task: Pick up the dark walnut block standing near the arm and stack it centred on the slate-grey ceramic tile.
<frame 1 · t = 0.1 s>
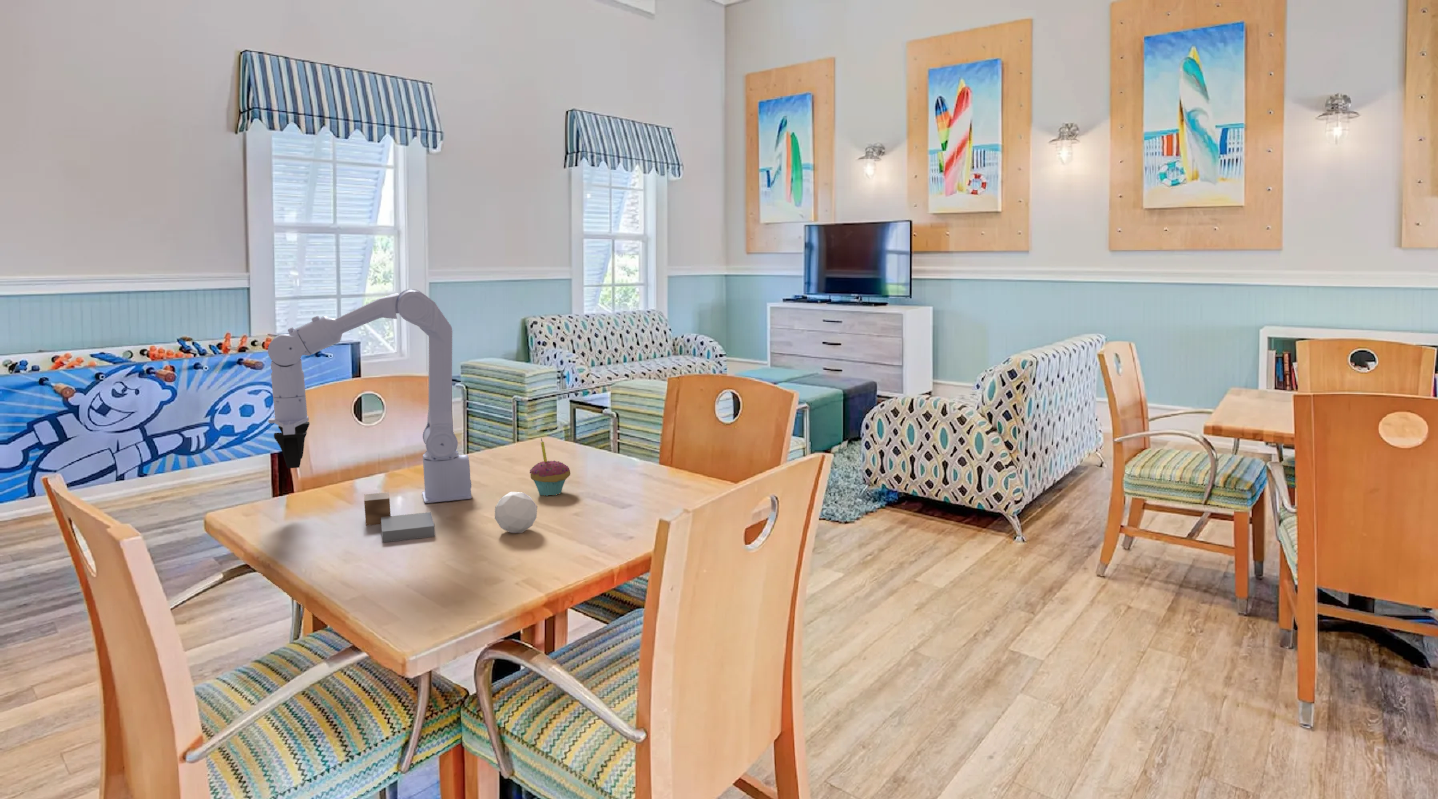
hand: (295, 463, 170), 10 cm above the table, tool pointing down, fingers open, 7 cm apart
walnut block: (378, 521, 167), on the table
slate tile: (407, 531, 161), on the table
geometric ball: (516, 532, 161), on the table
cupcake: (550, 493, 186), on the table
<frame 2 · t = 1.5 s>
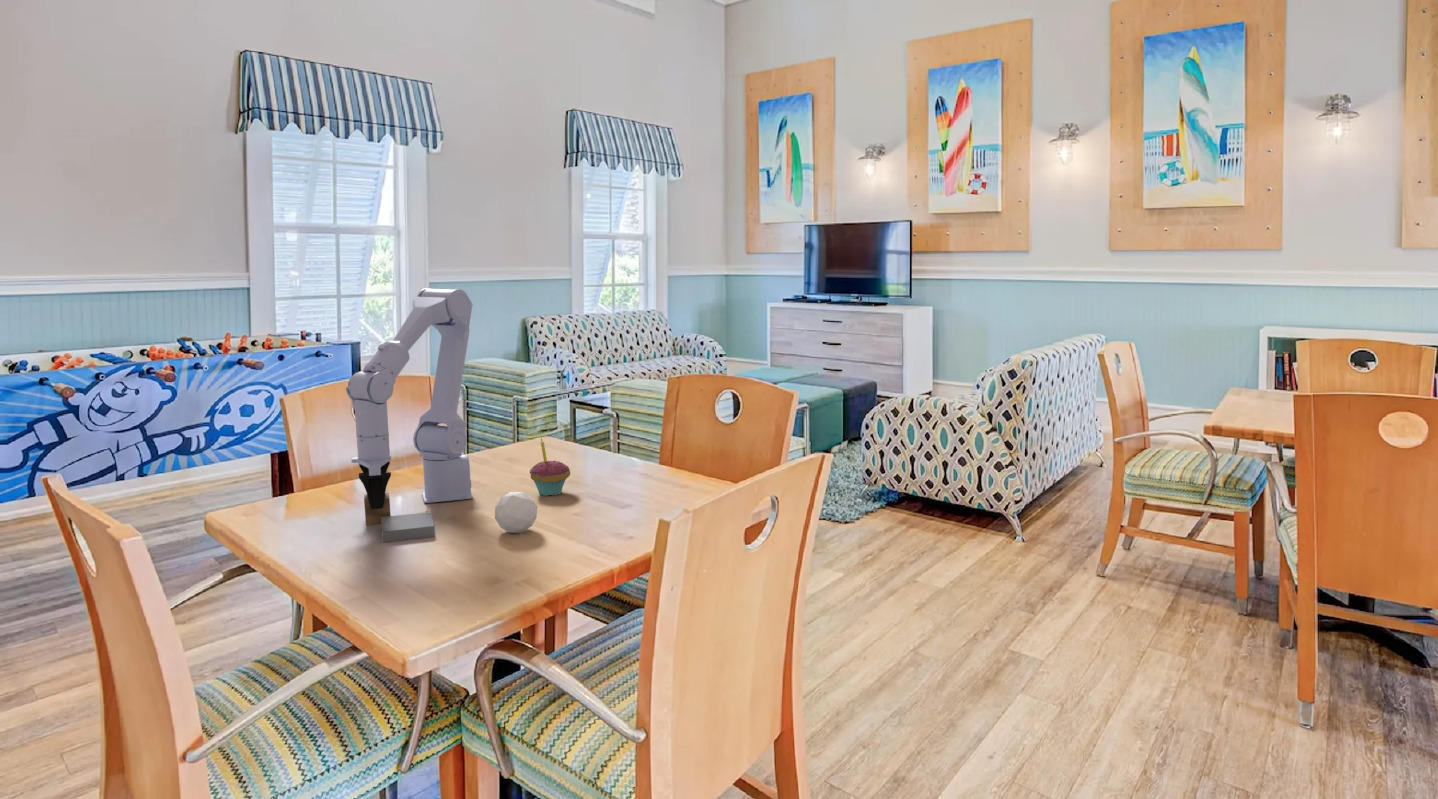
hand: (376, 502, 166), 4 cm above the table, tool pointing down, fingers open, 7 cm apart
nothing on the table moved.
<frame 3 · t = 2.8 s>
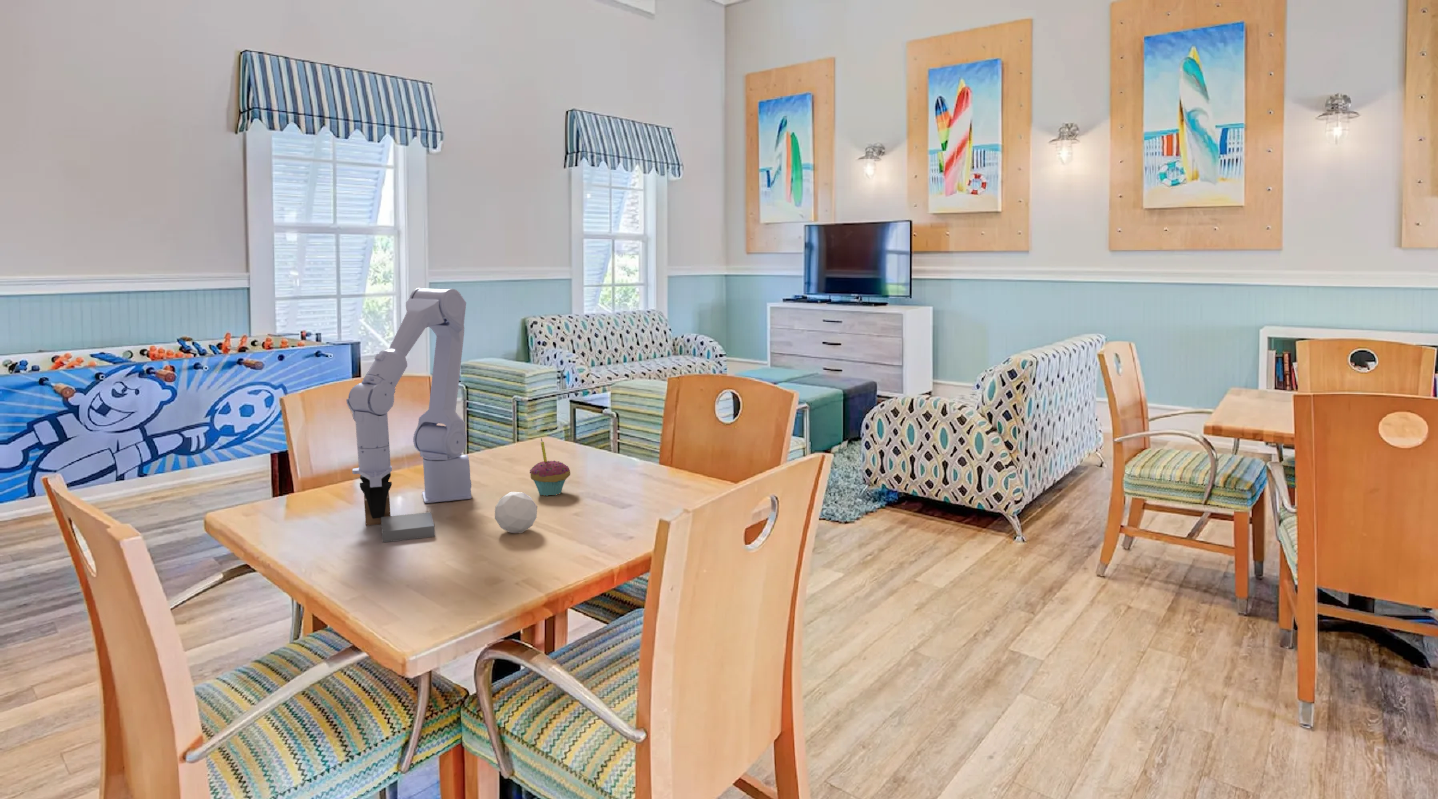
hand: (377, 513, 167), 1 cm above the table, tool pointing down, fingers closed on walnut block, 4 cm apart
walnut block: (378, 520, 167), on the table, touching gripper
everything else where it was.
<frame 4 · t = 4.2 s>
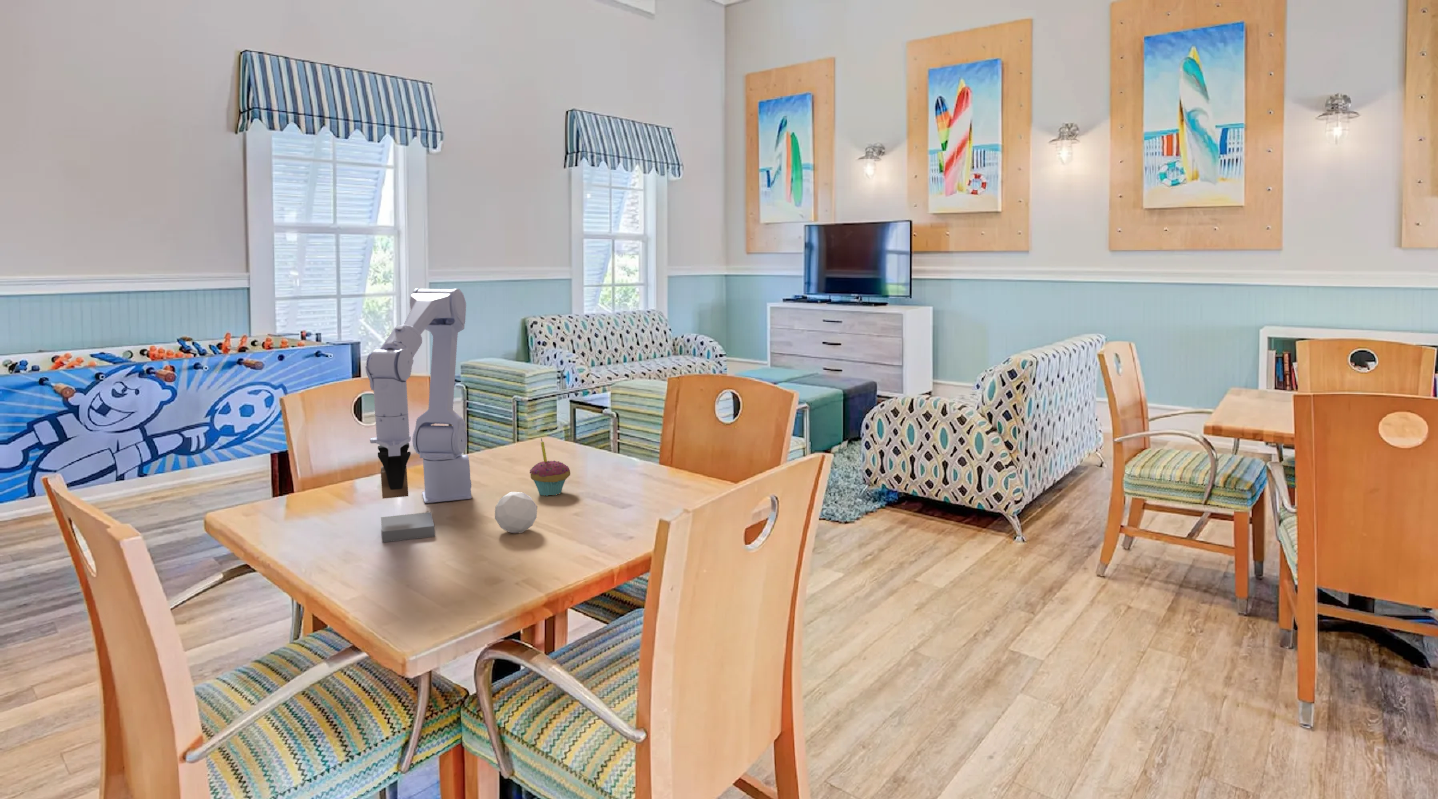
hand: (396, 485, 161), 8 cm above the table, tool pointing down, fingers closed on walnut block, 4 cm apart
walnut block: (395, 494, 161), point 7 cm above the table, touching gripper
everything else where it was.
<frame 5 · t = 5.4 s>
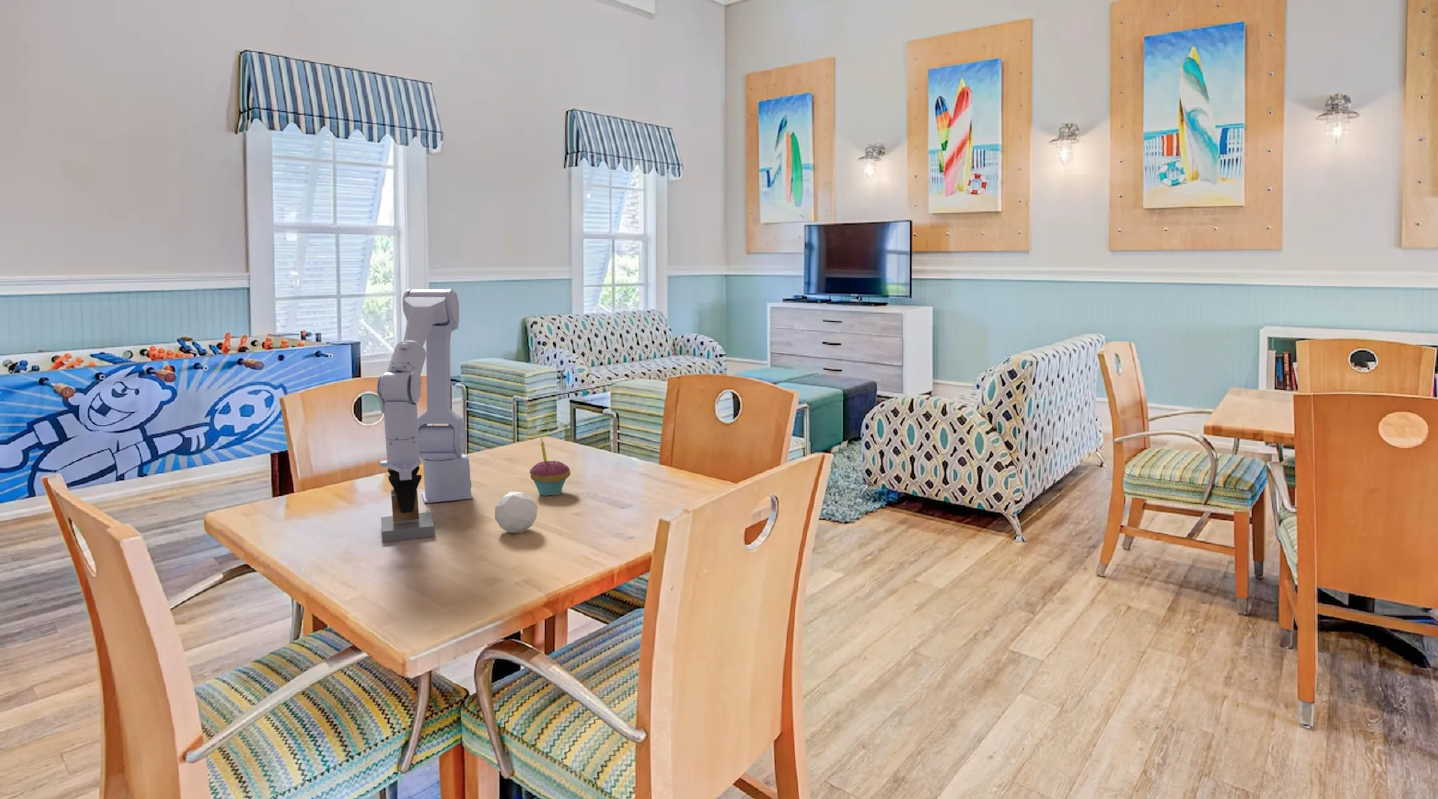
hand: (406, 508, 160), 5 cm above the table, tool pointing down, fingers closed on walnut block, 4 cm apart
walnut block: (405, 516, 160), point 3 cm above the table, touching gripper
everything else where it was.
when the fingers open (5 cm above the table, at t = 6.0 s): walnut block stays where it is, resting on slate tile.
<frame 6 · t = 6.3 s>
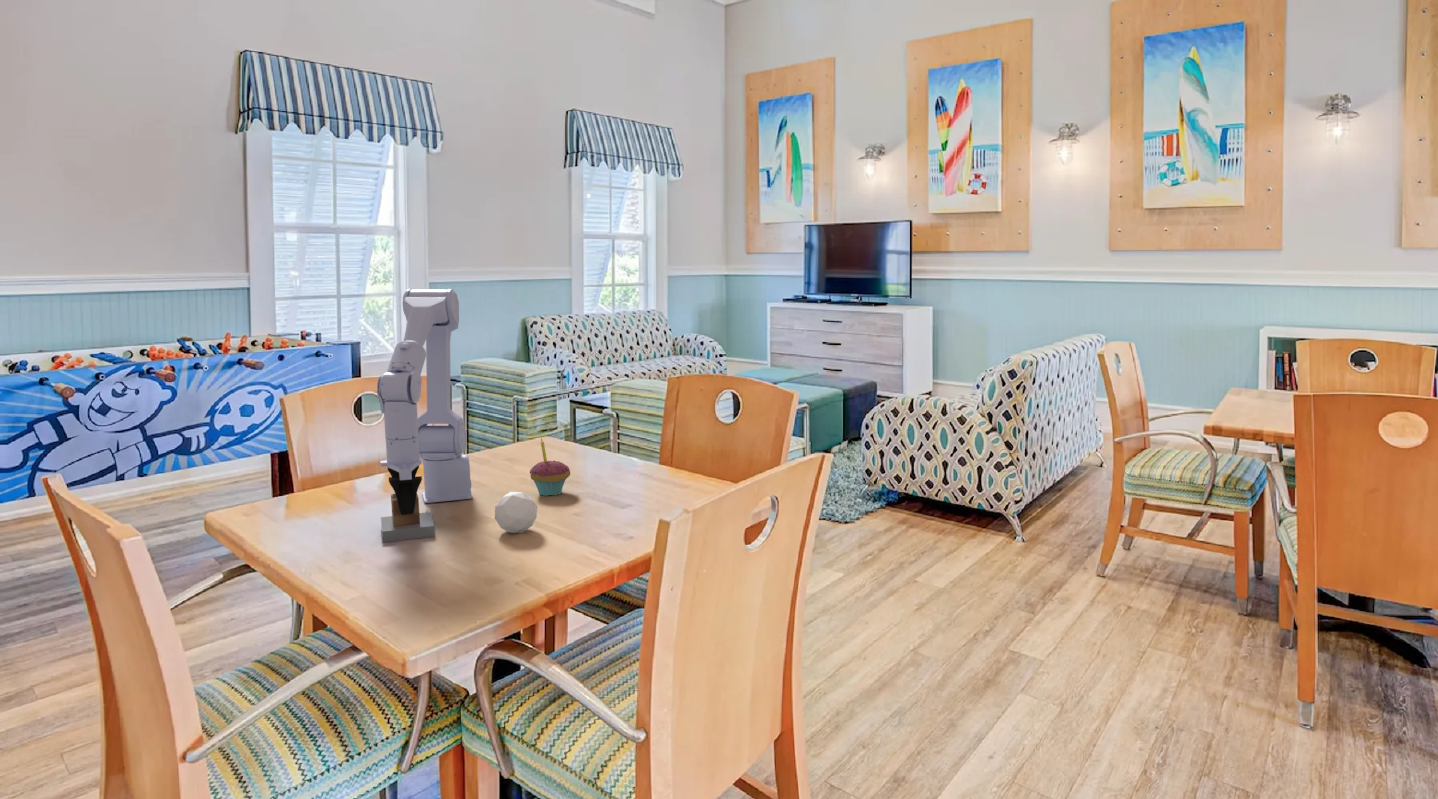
hand: (406, 508, 160), 5 cm above the table, tool pointing down, fingers open, 7 cm apart
walnut block: (406, 521, 160), point 2 cm above the table, touching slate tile
everything else where it was.
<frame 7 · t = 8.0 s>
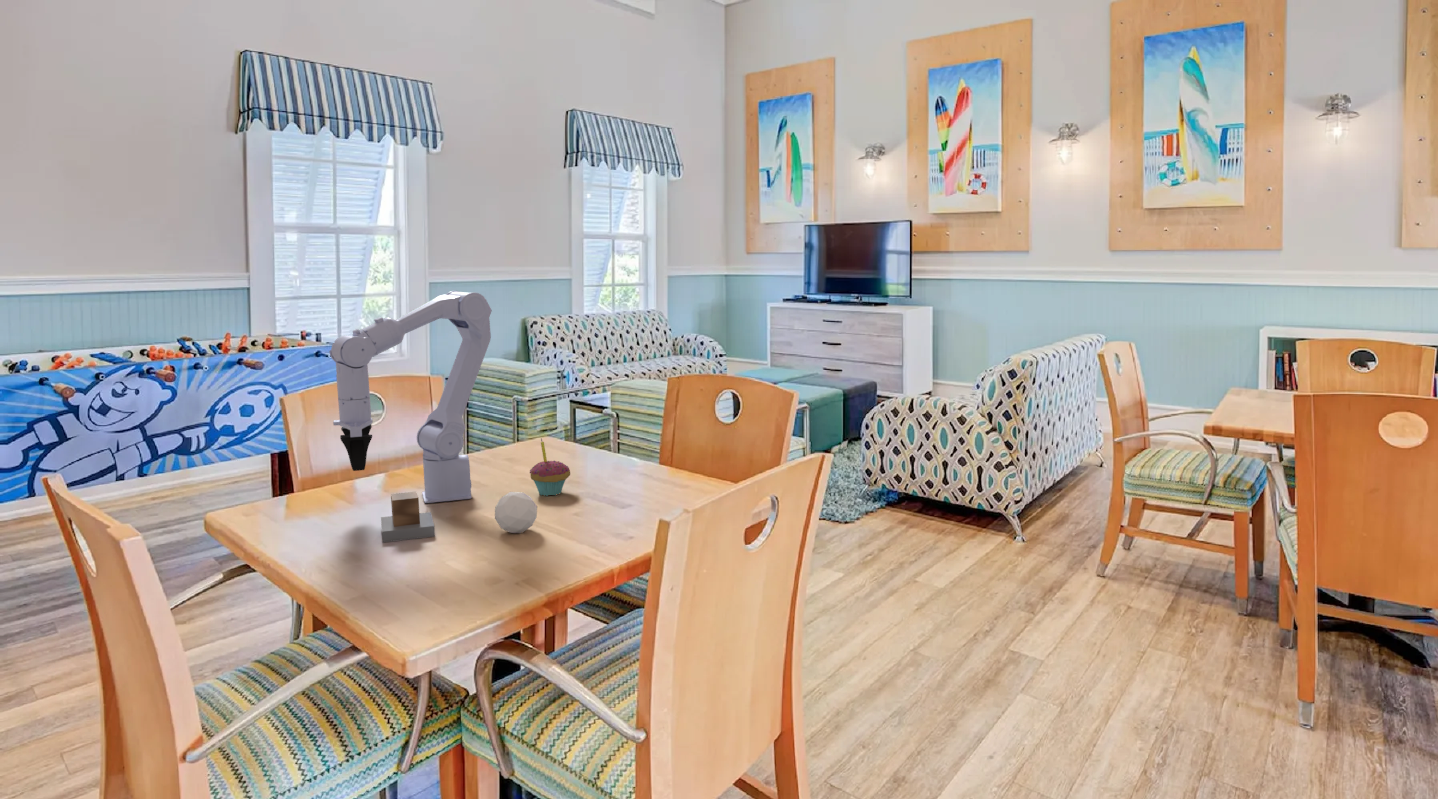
hand: (358, 465, 169), 10 cm above the table, tool pointing down, fingers open, 7 cm apart
nothing on the table moved.
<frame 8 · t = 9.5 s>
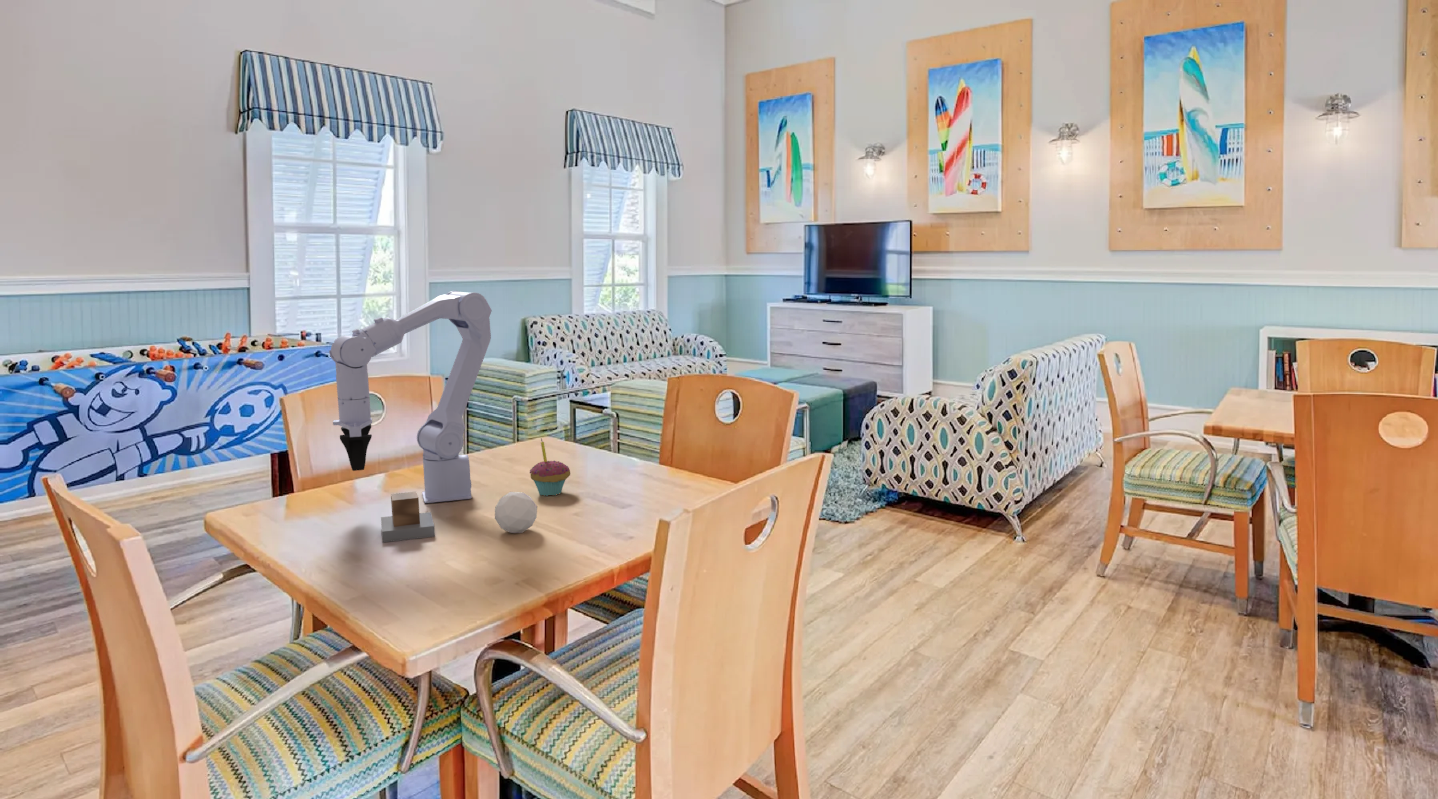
hand: (358, 465, 170), 10 cm above the table, tool pointing down, fingers open, 7 cm apart
nothing on the table moved.
at the end: walnut block 0.2 cm off-centre on the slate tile, point 2.0 cm above the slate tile's base; walnut block tilted 0°; the gripper is holding nothing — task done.
